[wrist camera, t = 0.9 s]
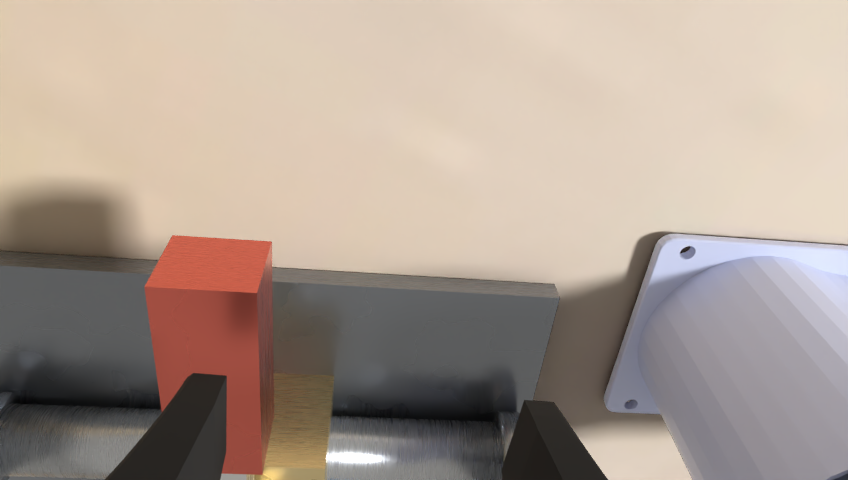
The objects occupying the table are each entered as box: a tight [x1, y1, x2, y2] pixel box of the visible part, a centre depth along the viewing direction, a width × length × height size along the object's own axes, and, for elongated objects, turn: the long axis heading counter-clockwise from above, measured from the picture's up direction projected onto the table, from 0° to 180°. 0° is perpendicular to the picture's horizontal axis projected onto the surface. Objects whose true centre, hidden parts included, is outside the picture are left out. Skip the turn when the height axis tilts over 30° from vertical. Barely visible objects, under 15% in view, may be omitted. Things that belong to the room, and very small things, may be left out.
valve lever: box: [144, 235, 274, 480], centre depth 17 cm, size 12×3×2 cm, turn 174°
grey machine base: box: [0, 251, 560, 480], centre depth 23 cm, size 20×13×5 cm, turn 84°
